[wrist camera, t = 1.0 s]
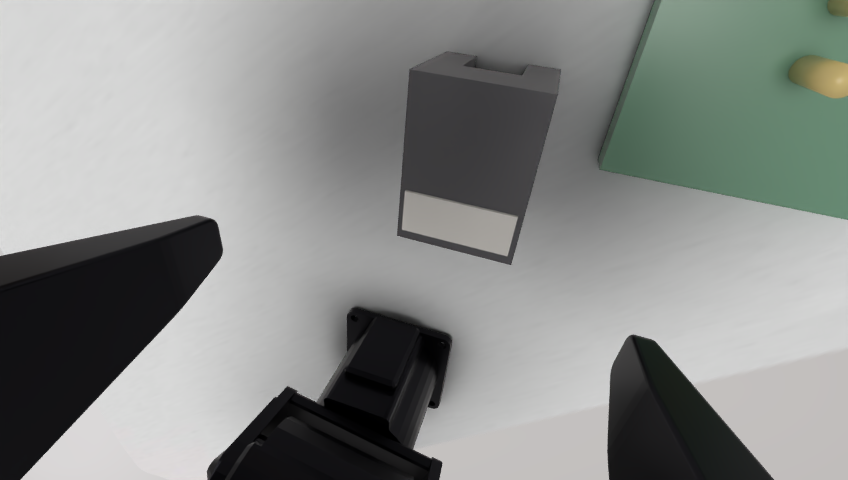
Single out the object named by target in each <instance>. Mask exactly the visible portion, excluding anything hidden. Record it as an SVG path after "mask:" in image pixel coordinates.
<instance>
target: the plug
mask: <svg viewBox="0 0 848 480" xmlns="http://www.w3.org/2000/svg"><path fill="white" fill-rule="evenodd" d="M476 58H477V56H472V55H466V54H459V53H453V52H445V53H443V54H441V55H439V56H436V57H434V58H432V59H430V60H428V61H426V62H424V63H422V64H420V65H418V66H416V67H414V68H411V69H410V72H409V85H408V98H407V112H406V125H405V138H404V152H403V165H402V178H401V191H400V205H399V218H398V231H397V236H400V237H404V238H408V239H412V240H416V241H420V242H424V243H428V244H431V245H435V246H439V247H443V248H447V249H451V250H455V251H459V252H462V253H466V254H470V255H474V256H478V257H482V258H486V259H490V260H493V261H497V262H501V263H505V264H509V265H511V263H512V260H513V256H514V252H515V249H516V245H517V241H518V238H519V234H520V230H521V227H522V223H523V219H524V216H525V212H526V209H527V205H528V201H529V198H530V194H531V190H532V187H533V183H534V179H535V176H536V172H537V168H538V165H539V161H540V157H541V154H542V150H543V146H544V143H545V139H546V135H547V132H548V128H549V125H550V121H551V117H552V114H553V110H554V106H555V103H556V99H557V95H558V89H559V81H560V73H561V69H554V68H548V67H542V66H535V65H528V66H527V68H526V70H525V71H524V73H523V75H516V74H510V73H504V72H498V71H492V70H486V69H479V68H475V64H476Z"/></svg>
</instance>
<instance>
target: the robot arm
mask: <svg viewBox="0 0 848 480" xmlns="http://www.w3.org/2000/svg"><path fill="white" fill-rule="evenodd" d="M222 253H223V247H222V242H221V237H220V233H219V228H218V224H217V223H216V221H215V220H213V219H211V218H207V217H204V216H199V215H196V216H191V217H186V218H181V219H176V220H171V221H167V222H162V223H157V224H152V225H147V226H142V227H138V228H133V229H128V230H123V231H118V232H114V233H109V234H104V235H99V236H94V237H90V238H85V239H80V240H75V241H70V242H65V243H61V244H56V245H51V246H46V247H41V248H37V249H32V250H27V251H22V252H17V253H13V254H8V255H3V256H0V480H20V479H21V478H22V477H23V476H24V475H25V474H26V473H27V472H28V471H29V470H30V469H31V468H32V467H33V466H34V465H35V464H36V463H37V461H38V460H39V459H40V458H41V457H42V456H43V455H44V454H45V453H46V452H47V451H48V450H49V449H50V448H51V447H52V446H53V445H54V443H55V442H56V441H57V440H58V439H59V438H60V437H61V436H62V435H63V434H64V433H65V432H66V431H67V430H68V429H69V428H70V427H71V426H72V424H73V423H74V422H75V421H76V420H77V419H78V418H79V417H80V416H81V415H82V414H83V413H84V412H85V411H86V410H87V409H88V407H89V406H90V405H91V404H92V403H93V402H94V401H95V400H96V399H97V398H98V397H99V396H100V395H101V394H102V393H103V392H104V391H105V390H106V388H107V387H108V386H109V385H110V384H111V383H112V382H113V381H114V380H115V379H116V378H117V377H118V376H119V375H120V374H121V373H122V372H123V370H124V369H125V368H126V367H127V366H128V365H129V364H130V363H131V362H132V361H133V360H134V359H135V358H136V357H137V356H138V355H139V354H140V353H141V351H142V350H143V349H144V348H145V347H146V346H147V345H148V344H149V343H150V342H151V341H152V340H153V339H154V338H155V337H156V336H157V335H158V333H159V332H160V331H161V330H162V329H163V328H164V327H165V326H166V325H167V324H168V323H169V322H170V321H171V320H172V319H173V318H174V316H175V315H176V314H177V313H178V312H179V311H180V310H181V309H182V307H183V306H184V305H185V304H186V302H187V301H188V300H189V299H190V297H191V296H192V295H193V294H194V292H195V291H196V290H197V288H198V287H199V286H200V285H201V283H202V282H203V281H204V279H205V278H206V277H207V276H208V274H209V273H210V272H211V270H212V269H213V268H214V267H215V265H216V264H217V263H218V261H219V260H220V259H221V256H222ZM356 316H357V317H356ZM441 342H443V343H445V344H443V343H441ZM451 345H452V340H451V338H450V337H449V336H447V335H445V334H441V333H438V332H435V331H432V330H428V329H425V328H422V327H418V326H415V325H412V324H408V323H405V322H402V321H398V320H395V319H392V318H388V317H385V316H382V315H379V314H375V313H372V312H369V311H365V310H362V309H359V308H352V309H351V310H350V311H349V313H348V315H347V354H346V355H345V357H344V359H343V360H342V362H341V364H340V365H339V367H338V368H337V370H336V372H335V373H334V375H333V376H332V378H331V380H330V381H329V383H328V384H327V386H326V388H325V389H324V391H323V393H322V394H321V396H320V397H319V399H318V401H317V402H315V401H313V400H311V399H309V398H307V397H304V396H302V395H300V394H298V393H297V390H295V389H292V388H290V387H288V386H287V387H286V388H285V389H284V390H283V392H282V393H281V394H280V395H279V396H278V397H275V398H274V399H273V400H272V401H271V402H270V403H269V404H268V405H267V406H266V407H265V408H264V409H263V410H262V412H261V413H260V414H259V415H258V416H257V417H256V418H255V419H254V420H253V421H252V422H251V424H250V425H249V426H248V427H247V428H246V429H245V430H244V431H243V432H242V433H241V434H240V435H239V437H238V438H237V439H236V440H235V441H234V442H233V443H232V444H231V445H230V446H229V447H228V448H227V449H226V450H225V451H224V452H223V453H221V454H220V455H219V456H218V457H217V458H215V459H214V460H213V462H212V463H211V464H210V466H209V468H208V470H207V478H208V480H439V478H440V473H441V468H442V462H441V461H440V460H437V459H435V458H433V457H432V458H429V457H427V456H425V455H423V454H421V453H419V452H417V451H415V450H413V448H414V445H415V442H416V439H417V436H418V433H419V430H420V427H421V424H422V422H423V419H424V416H425V413H426V410H427V407H429V408H433V409H435V408H438V406H439V404H440V401H441V396H442V391H443V386H444V380H445V375H446V370H447V365H448V360H449V355H450V350H451ZM607 453H608V470H609V480H774V479H773V478H772V477H771V475H770V474H769V473H768V472H767V471H766V470H765V468H764V467H763V466H762V465H761V464H760V463H759V462H758V460H757V459H756V458H755V457H754V456H753V455H752V453H751V452H750V451H749V450H748V449H747V447H745V445H744V444H743V443H742V442H741V441H740V439H739V438H738V437H737V436H736V435H735V434H734V432H733V431H732V430H731V429H730V428H729V427H728V426H727V424H726V423H725V422H724V421H723V420H722V418H721V417H720V416H719V415H718V414H717V413H716V412H715V410H714V409H713V408H712V407H711V406H710V404H709V403H708V402H707V401H706V400H705V399H704V397H703V396H702V395H701V394H700V393H699V392H698V390H697V389H696V388H695V387H694V386H693V385H692V383H691V382H690V381H689V380H688V379H687V378H686V376H685V375H684V374H683V373H682V372H681V371H680V369H679V368H678V367H677V366H676V365H675V364H674V362H673V361H672V360H671V359H670V358H669V357H668V355H667V354H666V353H665V352H664V351H663V350H662V348H661V347H660V346H659V345H658V344H657V343H656V342H655V341H654V340H651V339H648V338H644V337H641V336H637V335H630V336H629V337H628V338H627V339H626V340H625V342H624V344H623V346H622V348H621V350H620V352H619V353H618V355H617V357H616V359H615V361H614V363H613V365H612V369H611V375H610V396H609V421H608V450H607Z"/></svg>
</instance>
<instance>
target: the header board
mask: <svg viewBox="0 0 848 480" xmlns="http://www.w3.org/2000/svg"><path fill="white" fill-rule="evenodd" d="M598 162H599V168H600V170H604V171H609V172H614V173H619V174H624V175H629V176H634V177H639V178H644V179H648V180H653V181H658V182H663V183H668V184H673V185H678V186H683V187H688V188H693V189H698V190H703V191H708V192H713V193H718V194H723V195H728V196H733V197H738V198H742V199H747V200H752V201H757V202H762V203H767V204H772V205H777V206H782V207H787V208H792V209H797V210H802V211H807V212H812V213H817V214H822V215H827V216H832V217H836V218H841V219H846V220H848V0H655V1H654V4H653V7H652V9H651V12H650V15H649V18H648V21H647V23H646V26H645V29H644V32H643V35H642V37H641V40H640V43H639V46H638V49H637V51H636V54H635V57H634V60H633V63H632V65H631V68H630V71H629V74H628V77H627V79H626V82H625V85H624V88H623V91H622V93H621V96H620V99H619V102H618V104H617V107H616V110H615V113H614V116H613V118H612V121H611V124H610V127H609V130H608V132H607V135H606V138H605V141H604V144H603V146H602V149H601V152H600V155H599V158H598Z"/></svg>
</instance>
